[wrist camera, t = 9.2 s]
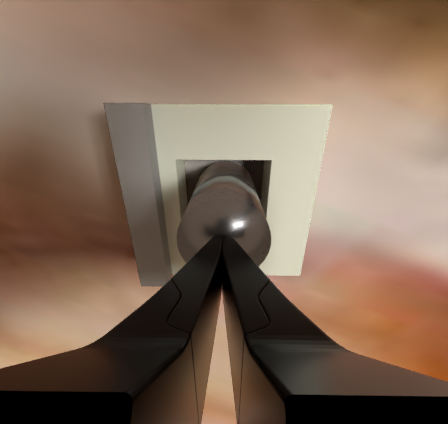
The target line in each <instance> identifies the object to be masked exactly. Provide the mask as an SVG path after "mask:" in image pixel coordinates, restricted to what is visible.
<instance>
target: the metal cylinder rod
mask: <svg viewBox="0 0 448 424" xmlns="http://www.w3.org/2000/svg"><path fill="white" fill-rule="evenodd" d="M212 237H222V238H223V237H233V238H234V239H235V240H236V241H237V243H238V244H239V245H240V246H241V247H242V248H243V249H244V251H245V252H246V253H247V254H248V255H249V256H250V257H251V259H252V260H253V261H254V262H255V263H256V264H257V265H258V267H259V266H260V265H261V264H262V263H263V261H264V260H265V259H266V257H267V255H268V253H269V250H270V247H271V232H270V228H269V225H268V222H267V220H266V217H265V214H264V211H263V209H262V206H261V203H260V200H259V197H258V195H257V192H256V189H255V186H254V184H253V181H252V178H251V176H250V174H249V173H248V171H247V170H246V169H245V168H244V167H243V166H241V165H239V164H237V163H235V162H231V161H219V162H216V163H213V164H211V165H210V166H208V167H207V168H206V169H205V170H204V171H203V172H202V174H201V175H200V177H199V180H198V182H197V184H196V187H195V189H194V191H193V194H192V196H191V198H190V201H189V203H188V205H187V208H186V210H185V212H184V215H183V217H182V220H181V222H180V224H179V227H178V230H177V236H176V238H177V247H178V250H179V253H180V255H181V257H182V258H183V260H184V261H185V262H186V263H187V262H188V261H189V260H190V259H191V258H192V257H193V256H194V255H195V254H196V253H197V252H198V251H199V250H200V249H201V248H202V247H203V246H204V245H205V244H206V243H207V242H208V241H209V240H210V239H211V238H212Z"/></svg>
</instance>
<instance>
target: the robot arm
mask: <svg viewBox="0 0 448 424" xmlns="http://www.w3.org/2000/svg"><path fill="white" fill-rule="evenodd" d="M221 292H222V293H223V303H224V312H225V321H226V330H227V339H228V348H229V357H230V366H231V375H232V383H233V392H234V401H235V410H236V419H237V424H448V382H447V381H443V380H440V379H436V378H433V377H430V376H427V375H424V374H420V373H417V372H414V371H411V370H408V369H404V368H401V367H398V366H395V365H391V364H388V363H385V362H382V361H379V360H375V359H372V358H369V357H366V356H363V355H359V354H356V353H354V352H351V351H349V350H347V349H345V348H344V347H342V346H340V345H339V344H337V343H336V342H335V341H333V340H332V339H331V338H330V337H329V336H328V335H326V334H325V333H324V332H323V331H322V330H321V329H320V328H319V327H318V326H317V325H315V324H314V323H313V322H312V321H311V320H310V319H309V318H308V317H307V316H305V315H304V314H303V313H302V312H301V311H300V310H299V309H298V308H297V307H296V306H295V305H294V304H292V303H291V302H290V301H289V300H288V299H287V298H286V297H285V296H284V295H283V294H282V293H281V291H280V290H279V289H278V288H277V287H276V286H275V285H274V284H273V283H272V281H270V279H269V278H268V277H267V276H266V275H265V274H264V272H263V271H262V270H261V269H260V268H259V267H258V265H257V264H256V263H255V262H254V261H253V260H252V259H251V257H250V256H249V255H248V254H247V253H246V252H245V251H244V249H243V248H242V247H241V246H240V245H239V244H238V243H237V241H236V240H235V239H234V238H233V237H223V238H222V237H212V238H211V239H210V240H209V241H208V242H207V243H206V244H205V245H204V246H203V247H202V248H201V249H200V250H199V251H198V252H197V253H196V254H195V255H194V256H193V257H192V258H191V259H190V260H189V261H188V262H187V263H186V264H185V265H184V266H183V267H182V268H181V269H180V270H179V271H178V272H177V273H176V274H175V275H174V276H173V277H172V278H171V280H169V281H168V282H167V283H166V284H165V285H164V286H163V287H162V288H161V289H160V290H159V291H158V292H157V293H156V294H154V295H153V296H152V297H151V298H150V299H149V300H147V301H146V302H145V303H144V304H143V305H142V306H140V307H139V308H138V309H137V310H135V311H134V312H133V313H132V314H130V315H129V316H128V317H127V318H125V319H124V320H123V321H122V322H120V323H119V324H118V325H117V326H116V327H114V328H113V329H112V330H111V331H109V332H108V333H107V334H105V335H104V336H103V337H101V338H100V339H98V340H97V341H95V342H93V343H91V344H89V345H87V346H85V347H82V348H79V349H76V350H72V351H68V352H64V353H60V354H56V355H52V356H48V357H44V358H40V359H37V360H33V361H29V362H25V363H21V364H17V365H13V366H9V367H5V368H1V369H0V424H201V420H202V414H203V408H204V401H205V395H206V388H207V382H208V376H209V369H210V363H211V357H212V350H213V344H214V337H215V331H216V325H217V318H218V312H219V306H220V299H221Z"/></svg>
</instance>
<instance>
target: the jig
mask: <svg viewBox="0 0 448 424" xmlns="http://www.w3.org/2000/svg"><path fill="white" fill-rule="evenodd" d="M103 104H104V109H105V113H106V118H107V123H108V128H109V133H110V138H111V142H112V147H113V152H114V157H115V162H116V167H117V171H118V176H119V181H120V186H121V191H122V196H123V200H124V205H125V210H126V215H127V220H128V224H129V229H130V234H131V239H132V244H133V249H134V253H135V258H136V263H137V268H138V273H139V278H140V282H141V286H164V285H165V284H166V283H167V282H168V281H169V280H170V279H171V276H172V274H176V273H177V272H178V271H179V270H180V269H181V268H182V267H183V266H184V265H185V264H186V262H185V261H184V260H183V258H182V257H181V255H180V253H179V250H178V247H177V238H176V236H177V230H178V227H179V224H180V222H181V220H182V217H183V215H184V212H185V210H186V208H187V205H188V204H187V191H186V177H185V164H184V160H264V169H263V181H262V194H261V206H262V209H263V211H264V214H265V217H266V220H267V222H268V225H269V228H270V232H271V247H270V250H269V253H268V255H267V257H266V259H265V260H264V261H263V263H262V264H261V265H260V266H259V268H260V269H261V270H262V271H263V272H264V274H265V275H282V276H300V274H301V268H302V263H303V258H304V253H305V248H306V242H307V237H308V232H309V227H310V221H311V216H312V211H313V206H314V200H315V195H316V190H317V185H318V179H319V174H320V169H321V164H322V159H323V153H324V148H325V143H326V138H327V132H328V127H329V122H330V117H331V111H332V106H333V104H147V103H103Z"/></svg>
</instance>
